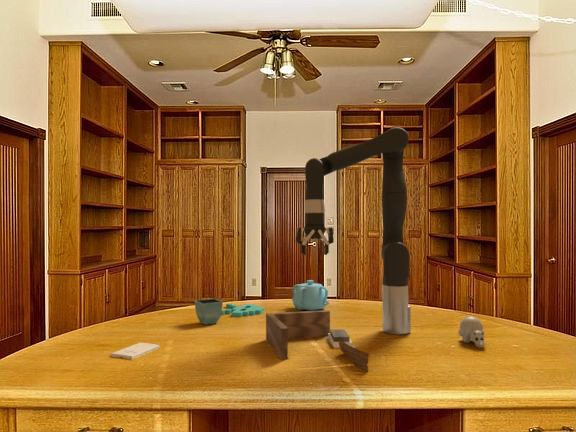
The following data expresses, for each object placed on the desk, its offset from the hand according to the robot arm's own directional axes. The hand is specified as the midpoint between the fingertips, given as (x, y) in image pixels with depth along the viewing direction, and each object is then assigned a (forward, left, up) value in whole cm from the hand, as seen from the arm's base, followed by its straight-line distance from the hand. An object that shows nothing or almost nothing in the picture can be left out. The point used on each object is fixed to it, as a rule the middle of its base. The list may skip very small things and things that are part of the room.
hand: (314, 255), depth 160 cm
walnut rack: (+10, +20, -28) cm, 36 cm away
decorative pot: (-10, -38, -28) cm, 49 cm away
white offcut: (-2, +20, -28) cm, 34 cm away
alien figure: (+22, -40, -29) cm, 54 cm away
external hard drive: (+62, +12, -29) cm, 70 cm away
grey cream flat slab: (-2, +20, -29) cm, 35 cm away
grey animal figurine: (-45, +31, -28) cm, 62 cm away
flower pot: (+38, -21, -28) cm, 52 cm away
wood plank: (+1, +39, -28) cm, 49 cm away
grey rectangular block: (-2, +20, -26) cm, 33 cm away
